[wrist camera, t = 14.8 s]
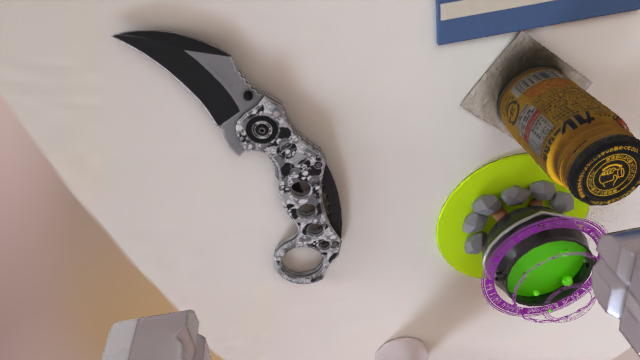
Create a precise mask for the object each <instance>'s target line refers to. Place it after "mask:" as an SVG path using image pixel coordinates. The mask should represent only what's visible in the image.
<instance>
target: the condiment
mask: <svg viewBox="0 0 640 360" xmlns="http://www.w3.org/2000/svg"><path fill="white" fill-rule="evenodd" d="M591 83H592V82H591V81H590V80H588V79H587V78H586V77H584V76H583V75H582V74H580V73H579V72H578V71H576V70H575V69H574V68H572V67H571V66H569V65H568V64H567V63H565V62H564V61H563V60H561V59H560V58H559V57H557V56H556V55H555V54H553V53H552V52H550V51H549V50H548V49H546V48H545V47H544V46H542V45H541V44H540V43H538V42H537V41H536V40H534V39H533V38H531V37H530V36H529V35H527V34H526V33H525V32H523V31H521V32H520V34H519V35H518V36H517V37H516V38H515V40H513V41H512V42H511V44H510V45H509V46H508V47H507V48H506V49H505V51H504V52H503V53H502V55H501V56H500V57H499V58H498V59H497V60H496V61H495V62H494V64H493V65H492V66H491V67H490V69H489V70H488V71H487V72H486V73H485V74H484V75H483V77H482V78H481V80H480V81H479V83H478V84H477V85H476V86H475V87H474V88H473V89H472V91H471V92H470V93H469V95H468V96H467V97H466V99H465V100H464V101H463V102H462V103H461V106H462V107H464V108H465V109H467V110H468V111H470V112H472V113H473V114H475V115H476V116H478V117H480V118H482V119H483V120H485V121H486V122H488V123H490V124H491V125H493V126H494V127H496V128H498V129H499V130H501V131H503V132H504V133H506V134H507V135H509V136H511V137H512V138H514V139H515V140H516V141H517V142H518V143H519V144H520V145H521V146H522V147H523V148H524V149H525V150H526V151H527V152H528V153H529V154H530V156H531V157H532V158H533V159H534V160H535V162H536V164H538V165H539V166H540V167H541V169H543V171H544V172H545V173H546V174H547V175H548V176H549V177H550V179H551V180H553V181H554V182H556V183H557V184H559V185H561V186H564V187H565V188H566V189H568V190H569V191H570V193H572V195H573V196H574V197H575V198H577V199H579V200H580V201H582V202H584V203H586V204H589V205H602V206H603V205H608V204H611V203H613V202H616V201H619V200H620V199H622V198H624V197H626V196H627V195H629V194H630V193H631V192H632V191H633V190H635V189H636V188H637V187H638V186H639V185H640V140H639V139H636V138H635V137H634V135H633V134H632V133H631V132H630V131H629V129H628V126H627V125H626V123H625V122H624V121H623V120H622V119H621V118H620V117H619V116H618V115H616V114H615V113H614V112H612V111H611V110H610V109H609V108H608V107H606V106H605V105H603V104H602V103H601V102H599V101H598V100H597V99H596V98H594V97H593V96H591V95H590V94H589V93H587V92H586V91H585V90H586V89H587V88H588V87H589V86H590V85H591Z"/></svg>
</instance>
